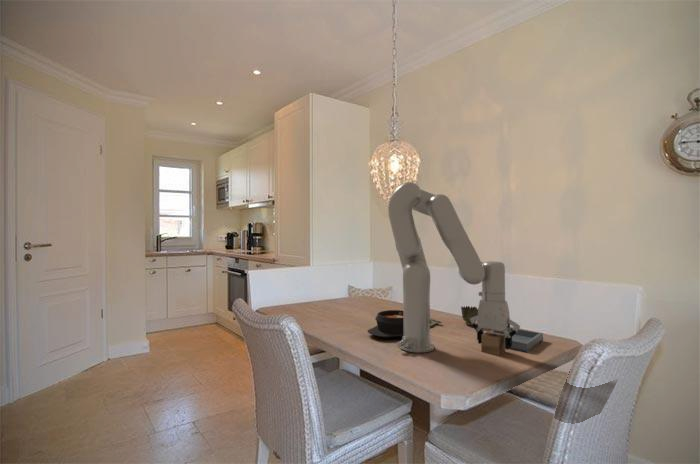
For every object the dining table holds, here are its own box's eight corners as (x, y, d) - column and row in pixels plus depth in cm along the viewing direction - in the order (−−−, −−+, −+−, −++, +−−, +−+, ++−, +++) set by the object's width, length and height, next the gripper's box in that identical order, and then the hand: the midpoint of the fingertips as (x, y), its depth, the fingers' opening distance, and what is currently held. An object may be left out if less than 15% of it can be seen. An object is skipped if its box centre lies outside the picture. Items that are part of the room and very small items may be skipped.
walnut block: (498, 355, 124) (498, 338, 124) (481, 351, 128) (481, 334, 128) (505, 351, 128) (505, 334, 128) (488, 347, 132) (488, 331, 132)
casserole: (402, 324, 165) (402, 306, 165) (433, 334, 150) (433, 313, 150) (357, 334, 150) (357, 313, 150) (387, 345, 135) (387, 322, 135)
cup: (480, 327, 160) (480, 309, 160) (464, 327, 160) (464, 309, 160) (475, 323, 167) (475, 305, 167) (459, 323, 167) (459, 305, 167)
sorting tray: (527, 352, 127) (527, 343, 127) (482, 342, 138) (482, 334, 138) (542, 341, 140) (542, 333, 140) (500, 333, 151) (500, 325, 151)
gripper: (465, 295, 131) (466, 342, 131) (515, 301, 119) (515, 353, 119) (474, 292, 137) (475, 338, 137) (523, 298, 125) (523, 348, 125)
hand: (494, 345), depth 128 cm, fingers open, 9 cm apart
